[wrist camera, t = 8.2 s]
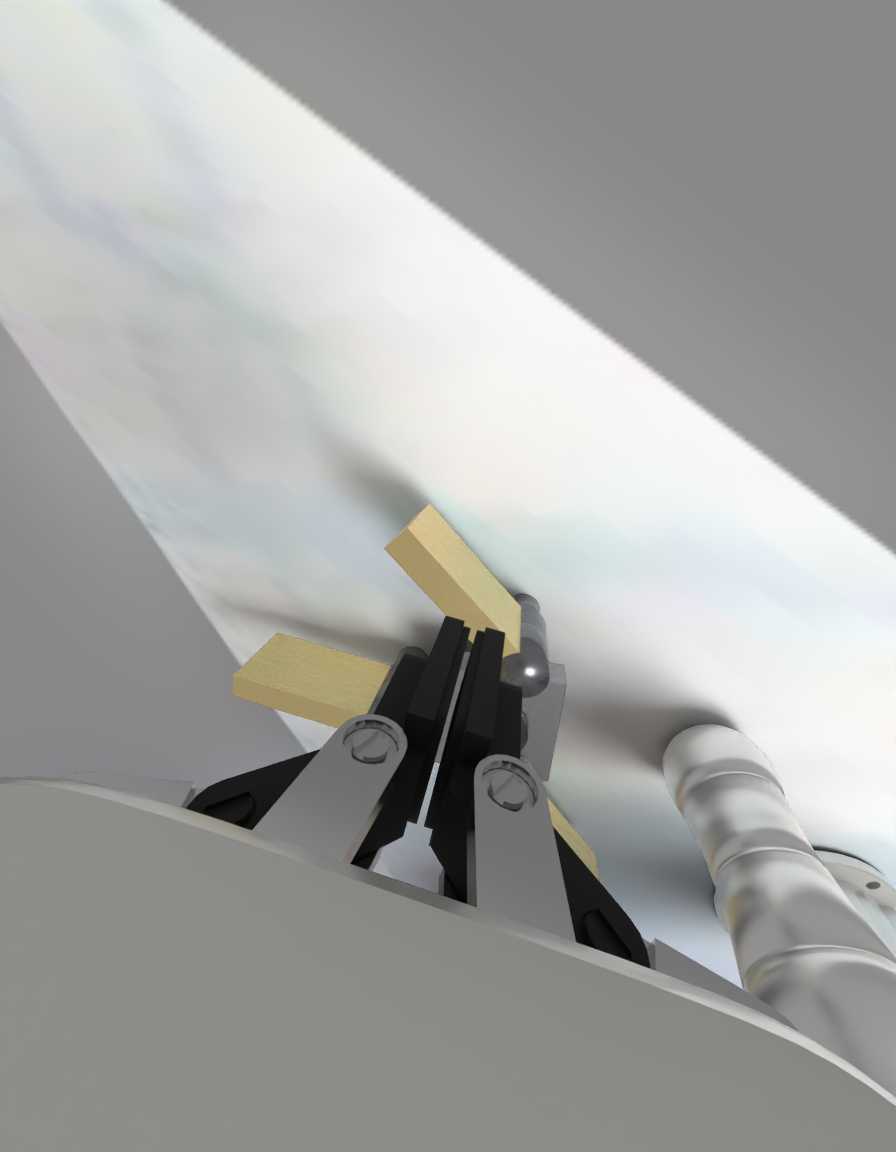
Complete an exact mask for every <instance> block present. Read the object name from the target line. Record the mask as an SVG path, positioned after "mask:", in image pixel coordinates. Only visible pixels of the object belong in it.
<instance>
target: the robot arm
mask: <svg viewBox="0 0 896 1152" xmlns="http://www.w3.org/2000/svg"><path fill="white" fill-rule="evenodd" d="M464 623H465V621H464V620H460V619H457V618H453V617H450V616H447V615H446V617H445V619H444V622H443V624H442V627H441V629H440V632H439V634H438V637H437V639H436V641H435V644H434V646H433V649H432V651H431V654H430V656H429V659H426V658H423V657H419V656H416V655H413V654H409V653H404V655H403V657H402V659H401V661H400V663H399V665H398V666H397V668H396V670H395V672H394V674H393V676H392V678H391V680H390V682H389V684H388V686H387V688H386V690H385V692H384V694H383V696H382V698H381V700H380V702H379V704H378V706H377V708H376V710H375V712H374V714H365V715H359V716H355V717H353V718H351V719H349V720H347V721H346V722H345V723H343V724H342V725H341V726H340V727H339V728H338V730H337V731H336V732H335V733H334V734H333V735H332V737H331V738H330V739H329V740H328V741H327V743H326V744H325V745H324V746H323V747H322V748H321V749H319V750H316V751H313V752H310V753H307V754H304V755H301V756H297V757H294V758H291V759H288V760H285V761H282V762H278V763H275V764H272V765H269V766H266V767H263V768H260V769H257V770H254V771H250V772H247V773H244V774H241V775H238V776H235V777H232V778H228V779H226V780H222V781H220V782H218V783H215V784H213V785H211V786H209V787H207V788H206V789H197V788H195V782H188V781H178V780H168V779H157V778H147V777H137V776H126V775H115V774H106V773H95V772H84V773H73V774H70V775H66V776H63V777H60V778H47V777H32V776H26V777H0V1152H896V1097H894V1096H893V1095H892V1094H890V1093H889V1092H888V1091H886V1090H885V1089H884V1088H882V1087H881V1086H880V1085H878V1084H877V1083H876V1082H874V1081H873V1080H872V1079H870V1078H869V1077H868V1076H866V1075H865V1074H864V1073H862V1072H861V1071H859V1070H858V1069H857V1068H855V1067H854V1066H853V1065H851V1064H850V1063H849V1062H847V1061H846V1060H844V1059H842V1058H841V1057H839V1056H837V1055H836V1054H834V1053H833V1052H831V1051H829V1050H828V1049H826V1048H824V1047H823V1046H821V1045H820V1044H818V1043H816V1042H815V1041H813V1040H811V1039H810V1038H808V1037H807V1036H805V1035H803V1034H801V1033H800V1032H799V1031H798V1030H797V1029H796V1028H795V1026H794V1025H793V1024H792V1023H791V1022H790V1021H789V1020H788V1019H787V1018H786V1017H785V1016H783V1015H782V1014H781V1013H779V1012H778V1011H777V1010H775V1009H774V1008H773V1007H771V1006H770V1005H768V1004H767V1003H765V1002H763V1001H762V1000H760V999H758V998H757V997H755V996H753V995H751V994H750V993H748V992H746V991H745V990H743V989H741V988H739V987H738V986H736V985H734V984H733V983H731V982H729V981H728V980H726V979H724V978H722V977H721V976H719V975H717V974H716V973H714V972H712V971H711V970H709V969H707V968H705V967H704V966H702V965H700V964H699V963H697V962H695V961H693V960H692V959H690V958H688V957H687V956H685V955H683V954H682V953H680V952H678V951H676V950H675V949H673V948H671V947H670V946H668V945H666V944H665V943H663V942H661V941H659V940H658V939H656V938H655V939H654V940H653V942H652V943H650V942H648V941H646V940H645V939H643V938H642V937H641V935H640V932H639V931H638V930H637V928H636V927H635V925H634V924H633V922H632V921H631V919H630V918H629V917H628V915H627V914H626V913H625V912H624V911H623V909H622V908H621V907H620V906H619V905H618V903H617V902H616V901H615V900H614V899H613V897H612V896H611V895H610V894H609V893H608V891H607V890H606V889H605V888H604V887H603V885H602V884H601V883H600V882H599V881H598V879H597V878H596V877H595V876H594V875H593V873H592V872H591V871H590V870H589V869H588V867H587V866H586V865H585V864H584V863H583V861H582V860H581V859H580V858H579V857H578V855H577V854H576V853H575V852H574V851H573V849H572V848H571V847H570V846H569V845H568V843H567V842H566V841H565V840H564V839H563V837H562V836H561V835H560V834H559V833H558V831H557V830H556V829H555V828H554V827H553V825H552V820H551V815H550V810H549V805H548V800H547V795H546V790H545V788H544V785H543V782H542V780H541V779H540V777H539V776H538V775H537V773H536V772H535V771H534V770H533V769H532V768H531V767H530V766H529V765H528V764H526V763H524V762H523V761H521V760H520V751H521V721H522V687H520V686H516V685H513V684H510V683H506V682H503V681H500V676H501V667H502V658H503V649H504V641H505V632H502V631H498V630H495V629H491V628H488V627H486V628H485V631H484V632H483V631H480V630H477V632H476V635H475V638H474V642H473V645H472V649H471V652H470V656H469V659H468V662H467V666H466V669H465V673H464V676H463V680H462V683H461V686H460V690H459V693H458V697H457V700H456V703H455V707H454V711H453V714H452V718H451V722H450V726H449V730H448V734H447V738H446V742H445V746H444V749H443V753H442V757H441V761H440V765H439V769H438V773H437V777H436V781H435V785H434V789H433V793H432V797H431V801H430V804H429V808H428V812H427V816H426V820H425V824H424V827H427V828H430V829H433V830H432V835H431V839H430V843H429V846H431V848H432V849H433V851H434V853H435V855H436V856H437V858H438V860H439V862H440V863H441V865H442V867H441V871H440V876H439V891H438V894H436V893H433V892H430V891H427V890H425V889H422V888H419V887H416V886H413V885H410V884H407V883H404V882H401V881H398V880H395V879H393V878H390V877H387V876H383V875H381V874H378V873H375V872H372V871H373V869H374V867H375V865H376V863H377V861H378V859H379V857H380V854H381V851H382V848H383V846H385V845H387V844H389V843H391V842H393V841H395V840H397V839H399V838H401V837H403V834H404V831H405V828H406V824H407V821H409V822H412V823H415V824H417V821H418V817H419V814H420V810H421V807H422V803H423V800H424V796H425V793H426V789H427V786H428V782H429V779H430V775H431V772H432V768H433V765H434V761H435V758H436V754H437V751H438V747H439V744H440V740H441V737H442V733H443V730H444V726H445V723H446V719H447V715H448V712H449V708H450V704H451V701H452V697H453V693H454V689H455V686H456V682H457V678H458V675H459V671H460V667H461V663H462V660H463V656H464V652H465V649H466V645H467V641H468V637H469V634H470V630H471V628H469V627H466V626H464ZM814 851H815V852H816V854H817V855H818V856H819V858H820V859H821V861H822V862H823V864H824V865H825V868H826V869H827V870H828V871H829V872H830V874H831V875H832V876H833V878H834V879H835V881H836V882H837V884H838V885H839V886H840V888H841V889H842V891H843V892H844V894H845V895H846V896H847V898H848V899H849V901H850V902H851V904H852V905H853V906H854V907H855V908H856V910H857V911H858V912H859V913H860V915H861V916H862V917H863V918H864V920H865V921H866V922H867V923H868V924H869V926H870V927H871V928H872V929H873V931H874V932H875V933H876V934H877V936H878V937H879V938H880V939H881V941H882V942H883V943H884V944H885V945H886V947H887V948H888V949H889V950H890V952H891V953H892V954H893V955H894V957H895V958H896V890H895V889H894V888H893V886H892V885H891V884H890V883H889V881H888V880H887V879H886V878H885V877H884V876H883V874H881V873H880V872H879V871H877V870H876V869H874V868H873V867H872V866H870V865H868V864H866V863H864V862H862V861H860V860H857V859H854V858H851V857H848V856H845V855H842V854H838V853H832V852H827V851H819V850H814ZM714 905H715V910H716V912H717V915H718V918H719V921H720V923H721V925H722V926H723V928H724V929H725V931H726V932H727V933H728V934H729V935H730V933H729V929H728V925H727V922H726V919H725V916H724V913H723V910H722V907H721V904H720V901H719V898H718V895H717V891H716V890H715V895H714Z"/></svg>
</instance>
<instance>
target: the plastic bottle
mask: <svg viewBox="0 0 896 1152" xmlns="http://www.w3.org/2000/svg"><path fill="white" fill-rule="evenodd" d="M662 764H663V771H664V777H665V783H666V787H667V789H668V791H669V793H670V795H671V797H672V799H673V801H674V803H675V805H676V806H677V808H678V810H679V812H680V813H681V815H682V816H683V818H684V819H685V820H686V821H687V823H688V825H689V827H690V830H691V832H692V834H693V836H694V838H695V840H696V842H697V844H698V846H699V848H700V851H701V853H702V855H703V857H704V859H705V861H706V863H707V865H708V868H709V871H710V874H711V877H712V880H713V883H714V885H715V887H716V891H717V895H718V898H719V901H720V904H721V907H722V910H723V913H724V916H725V919H726V922H727V925H728V929H729V933H730V938H731V942H732V946H733V950H734V954H735V958H736V962H737V966H738V970H739V974H740V978H741V982H742V986H743V988H744V990H745V991H746V992H748V993H750V994H751V995H753V996H755V997H757V998H758V999H760V1000H762V1001H763V1002H765V1003H767V1004H768V1005H770V1006H771V1007H773V1008H774V1009H775V1010H777V1011H778V1012H779V1013H781V1014H782V1015H783V1016H785V1017H786V1018H787V1019H788V1020H789V1021H790V1022H791V1023H792V1024H793V1025H794V1026H795V1028H796V1029H797V1030H798V1031H799V1032H800V1033H801V1034H803V1035H805V1036H807V1037H808V1038H810V1039H811V1040H813V1041H815V1042H816V1043H818V1044H820V1045H821V1046H823V1047H824V1048H826V1049H828V1050H829V1051H831V1052H833V1053H834V1054H836V1055H837V1056H839V1057H841V1058H842V1059H844V1060H846V1061H847V1062H849V1063H850V1064H851V1065H853V1066H854V1067H855V1068H857V1069H858V1070H859V1071H861V1072H862V1073H864V1074H865V1075H866V1076H868V1077H869V1078H870V1079H872V1080H873V1081H874V1082H876V1083H877V1084H878V1085H880V1086H881V1087H882V1088H884V1089H885V1090H886V1091H888V1092H889V1093H890V1094H892V1095H893V1096H894V1097H896V958H895V957H894V955H893V954H892V953H891V952H890V950H889V949H888V948H887V947H886V945H885V944H884V943H883V942H882V941H881V939H880V938H879V937H878V936H877V934H876V933H875V932H874V931H873V929H872V928H871V927H870V926H869V924H868V923H867V922H866V921H865V920H864V918H863V917H862V916H861V915H860V913H859V912H858V911H857V910H856V908H855V907H854V906H853V905H852V904H851V902H850V901H849V899H848V898H847V896H846V895H845V894H844V892H843V891H842V889H841V888H840V886H839V885H838V884H837V882H836V881H835V879H834V878H833V876H832V875H831V874H830V872H829V871H828V870H827V869H826V868H825V865H824V864H823V862H822V861H821V859H820V858H819V856H818V855H817V854H816V852H815V851H814V849H813V848H812V846H811V845H810V843H809V841H808V839H807V837H806V835H805V833H804V831H803V830H802V828H801V826H800V824H799V822H798V820H797V818H796V817H795V815H794V813H793V811H792V809H791V807H790V805H789V803H788V802H787V800H786V798H785V795H784V792H783V789H782V786H781V784H780V781H779V778H778V776H777V774H776V772H775V770H774V768H773V766H772V764H771V762H770V760H769V759H768V757H767V756H766V755H765V753H764V752H763V751H762V750H761V749H760V748H759V747H758V746H757V745H756V744H755V743H754V742H753V741H752V740H751V739H750V738H748V737H747V736H746V735H744V734H743V733H741V732H739V731H737V730H734V729H731V728H728V727H725V726H721V725H715V724H703V725H697V726H693V727H690V728H688V729H685V730H683V731H682V732H680V733H679V734H677V735H676V736H675V737H674V738H673V739H672V740H671V742H670V743H669V745H668V747H667V749H666V750H665V753H664V756H663V763H662Z"/></svg>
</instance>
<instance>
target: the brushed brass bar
mask: <svg viewBox="0 0 896 1152" xmlns="http://www.w3.org/2000/svg"><path fill="white" fill-rule="evenodd" d="M384 549H385V550H386V551H387V552H388V553H389V554H390V555H391V556H392V557H393V559H394V560H395V561H396V562H397V563H398V564H399V565H400V566H401V567H402V568H403V569H404V570H405V571H406V573H407V574H408V575H409V576H410V577H411V578H412V579H413V580H414V581H415V582H416V583H417V584H418V585H419V587H420V588H421V589H422V590H423V591H424V592H425V593H426V594H427V595H428V596H429V597H430V598H431V599H432V600H433V602H434V603H435V604H436V605H437V606H438V607H439V608H440V609H441V610H442V611H443V612H444V613H445V614H446V615H447V616H450V617H453V618H457V619H460V620H464V621H465V623H464V626H466V627H469V628H471V630H470V634H469V637H468V639H469V640H470V641H471V642H472V643H473V642H474V638H475V635H476V632H477V630H480V631H483V632H484V631H485V628H486V627H488V628H491V629H495V630H498V631H502V632H505V641H504V649H503V658H502V667H501V676H500V681H503V682H506V683H510V684H513V685H516V686H520V687H522V698H530V697H533V696H536V695H538V694H540V693H541V692H542V691H544V690H545V688H546V687H547V685H548V683H549V679H550V674H549V661H548V649H547V636H546V625H545V621H544V619H543V617H542V616H541V615H540V607H539V604H538V602H537V600H536V599H535V598H533V597H532V596H530V595H526V594H520V595H516V596H514V597H512V596H511V595H510V594H509V593H508V592H507V590H506V589H505V588H504V587H503V586H502V585H501V584H500V582H499V581H498V580H497V579H496V578H495V577H494V576H493V575H492V573H491V572H490V571H489V570H488V569H487V568H486V567H485V565H484V564H483V563H482V562H481V561H480V560H479V559H478V557H477V556H476V555H475V554H474V553H473V552H472V551H471V549H470V548H469V547H468V546H467V545H466V544H465V543H464V542H463V540H462V539H461V538H460V537H459V536H458V535H457V534H456V532H455V531H454V530H453V529H452V528H451V527H450V526H449V524H448V523H447V522H446V521H445V520H444V519H443V518H442V516H441V515H440V514H439V513H438V512H437V511H436V510H435V509H434V507H433V506H432V505H431V504H430V503H429V504H428V505H427V506H426V507H425V508H424V509H422V510H421V511H420V512H419V513H418V514H417V515H416V516H415V517H413V518H412V519H411V520H410V521H409V522H408V523H407V524H406V525H405V526H404V527H403V529H402V530H401V531H400V532H399V533H398V534H397V535H396V536H395V537H394V538H393V539H392V540H391V541H390V542H389V543H388V544H387V546H386V547H385V548H384Z"/></svg>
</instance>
